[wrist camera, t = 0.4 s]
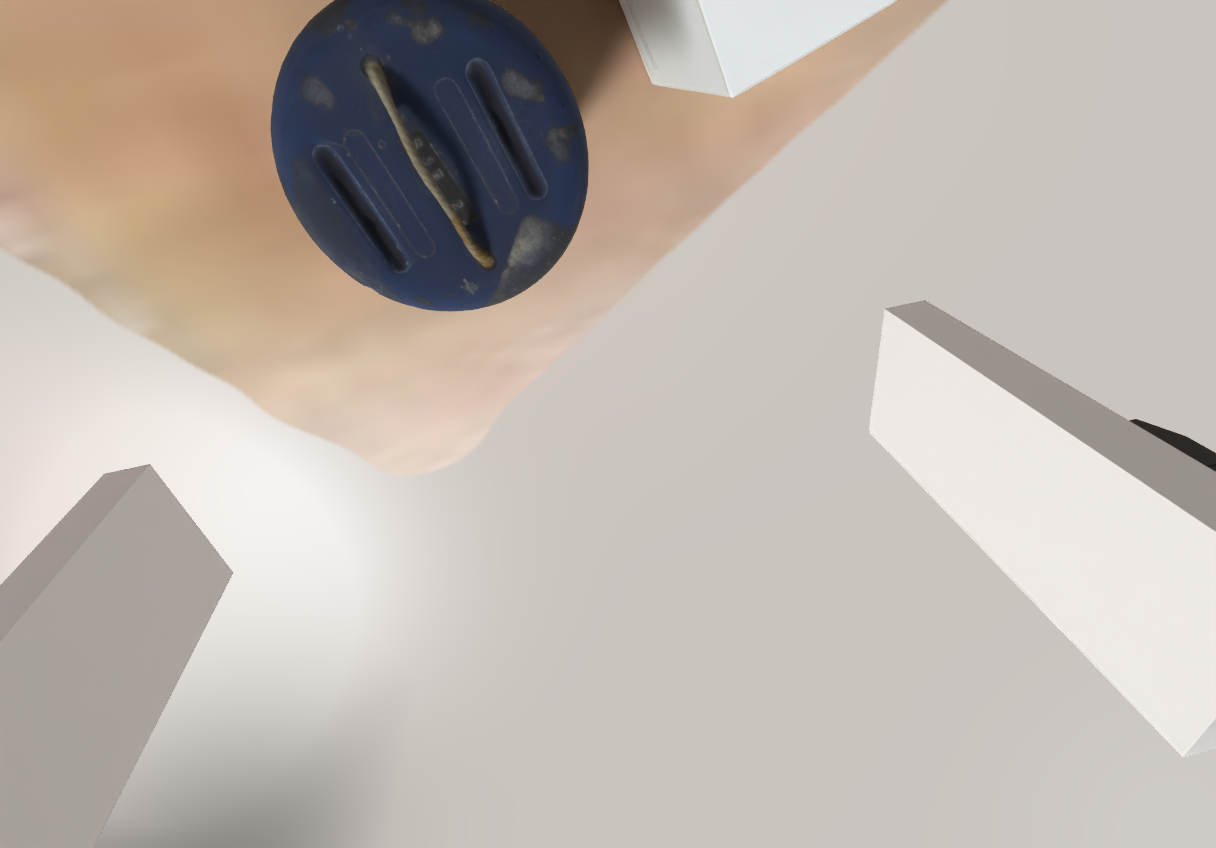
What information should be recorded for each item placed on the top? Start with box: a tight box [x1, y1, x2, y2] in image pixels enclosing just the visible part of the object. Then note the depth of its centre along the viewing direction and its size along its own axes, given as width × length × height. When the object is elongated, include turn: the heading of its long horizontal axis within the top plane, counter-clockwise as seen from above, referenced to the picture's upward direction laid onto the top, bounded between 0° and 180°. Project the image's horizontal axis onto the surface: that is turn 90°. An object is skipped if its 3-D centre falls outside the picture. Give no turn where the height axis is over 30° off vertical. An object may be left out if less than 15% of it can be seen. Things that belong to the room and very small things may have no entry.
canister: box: [271, 0, 588, 311], centre depth 24 cm, size 10×10×18 cm
